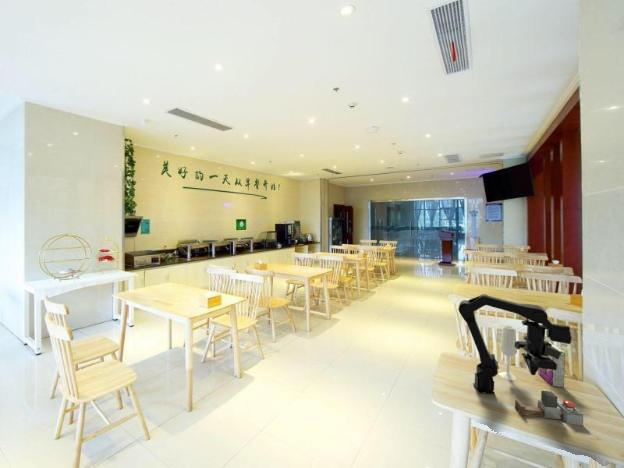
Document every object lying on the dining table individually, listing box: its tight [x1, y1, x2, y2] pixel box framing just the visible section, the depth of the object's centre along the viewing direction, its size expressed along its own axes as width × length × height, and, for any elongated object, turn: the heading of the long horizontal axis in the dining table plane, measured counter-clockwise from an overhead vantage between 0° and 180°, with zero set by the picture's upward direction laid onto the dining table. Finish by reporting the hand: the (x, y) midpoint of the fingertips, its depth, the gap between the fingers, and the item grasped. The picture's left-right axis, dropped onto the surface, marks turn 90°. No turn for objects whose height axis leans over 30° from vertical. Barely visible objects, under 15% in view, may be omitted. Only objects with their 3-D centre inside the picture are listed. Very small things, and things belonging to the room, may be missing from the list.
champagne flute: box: [498, 324, 518, 381], centre depth 133 cm, size 7×7×24 cm
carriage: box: [537, 390, 561, 420], centre depth 106 cm, size 5×4×8 cm
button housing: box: [557, 400, 585, 426], centre depth 105 cm, size 5×7×4 cm
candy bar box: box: [537, 341, 566, 388], centre depth 130 cm, size 11×5×16 cm, turn 168°
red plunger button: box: [562, 399, 576, 411], centre depth 105 cm, size 4×4×5 cm
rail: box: [514, 399, 563, 420], centre depth 106 cm, size 14×4×4 cm, turn 79°
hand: (532, 374), depth 113 cm, fingers closed
